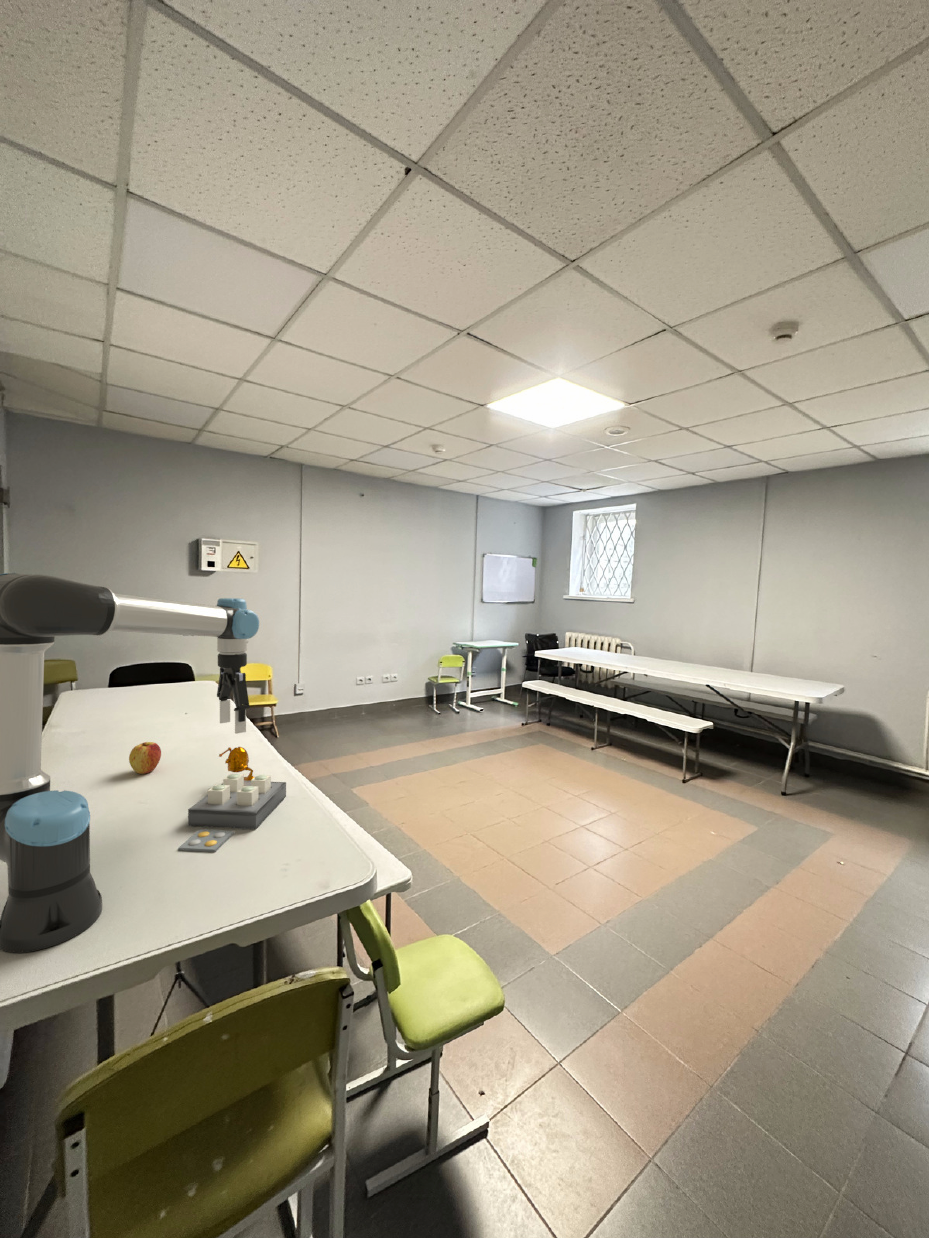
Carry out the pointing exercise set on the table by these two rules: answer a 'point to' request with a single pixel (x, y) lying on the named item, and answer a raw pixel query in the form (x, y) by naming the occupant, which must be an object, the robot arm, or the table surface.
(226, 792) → the button near left
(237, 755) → the figurine
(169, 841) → the table surface
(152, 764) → the apple
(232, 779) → the button far left
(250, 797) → the button near right
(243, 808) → the button box
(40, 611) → the robot arm
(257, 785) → the button far right
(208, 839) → the card
